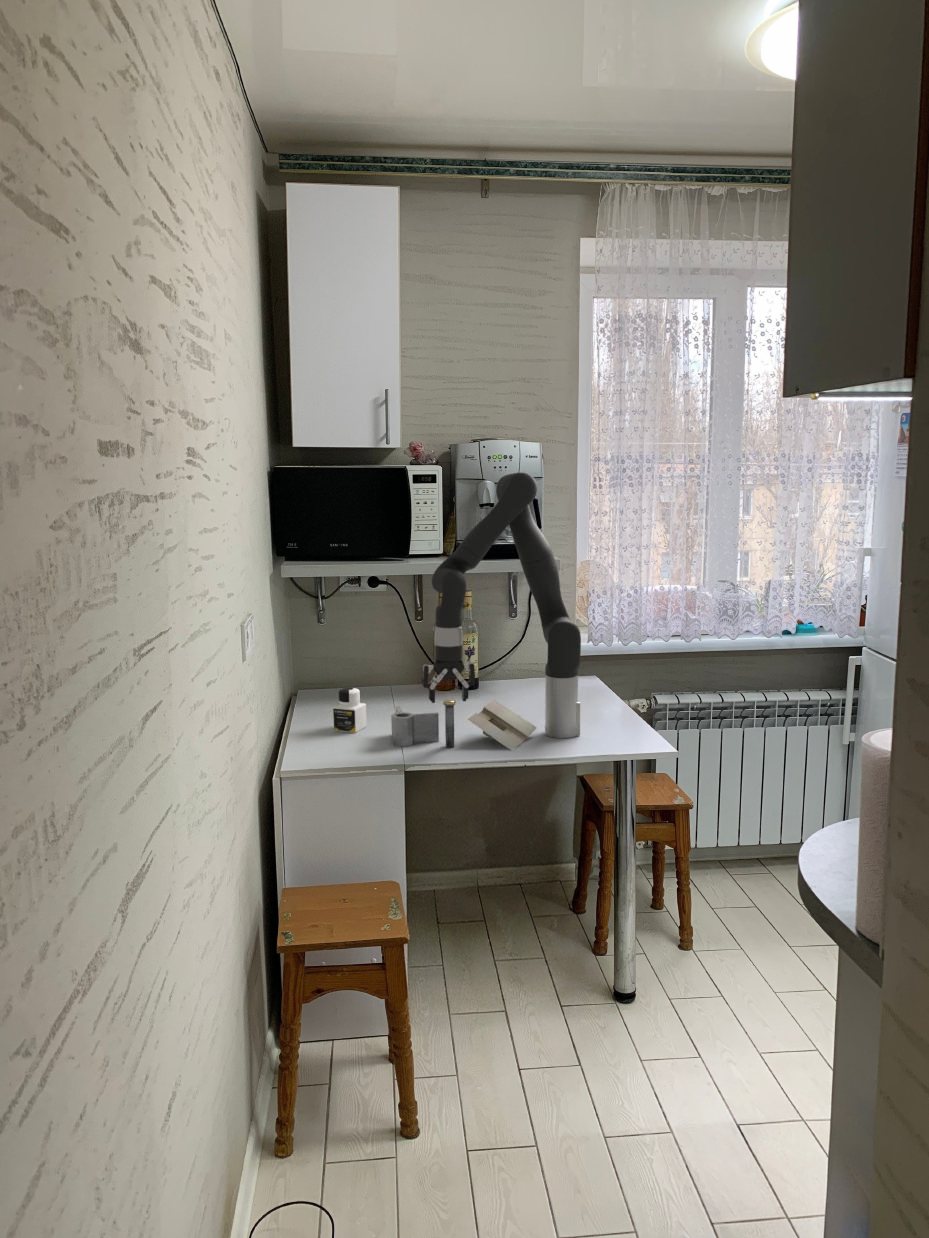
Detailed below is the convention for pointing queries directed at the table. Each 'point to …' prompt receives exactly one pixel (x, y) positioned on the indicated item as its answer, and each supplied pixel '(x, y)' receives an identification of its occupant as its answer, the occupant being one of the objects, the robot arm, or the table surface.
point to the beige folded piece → (502, 724)
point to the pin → (449, 722)
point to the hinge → (414, 728)
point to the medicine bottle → (349, 711)
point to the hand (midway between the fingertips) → (448, 701)
